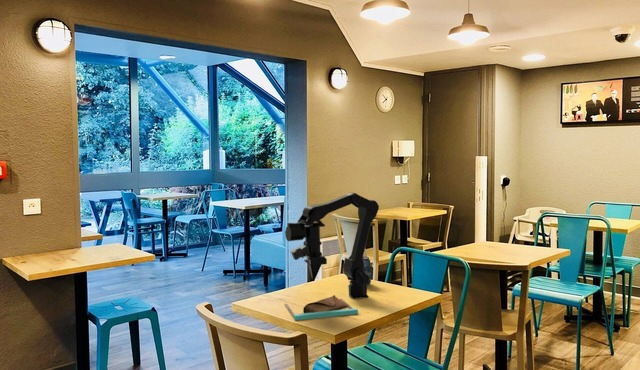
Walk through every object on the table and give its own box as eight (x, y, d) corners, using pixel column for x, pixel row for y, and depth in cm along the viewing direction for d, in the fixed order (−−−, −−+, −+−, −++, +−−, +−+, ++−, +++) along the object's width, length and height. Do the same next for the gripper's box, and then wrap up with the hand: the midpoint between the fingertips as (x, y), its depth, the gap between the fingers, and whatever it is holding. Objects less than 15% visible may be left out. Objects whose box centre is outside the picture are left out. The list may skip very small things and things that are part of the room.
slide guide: (342, 299, 211) (341, 295, 211) (358, 313, 191) (358, 309, 191) (284, 305, 206) (284, 301, 206) (295, 320, 186) (295, 316, 186)
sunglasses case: (321, 317, 188) (313, 300, 190) (308, 324, 192) (300, 307, 194) (351, 305, 202) (343, 289, 204) (338, 312, 206) (331, 296, 208)
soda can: (370, 286, 230) (369, 259, 230) (354, 286, 232) (353, 259, 231) (371, 283, 237) (371, 256, 236) (356, 282, 238) (355, 256, 238)
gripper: (287, 236, 212) (288, 275, 213) (297, 243, 194) (298, 286, 195) (314, 235, 215) (315, 273, 216) (326, 241, 197) (327, 283, 198)
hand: (313, 279), depth 206 cm, fingers closed
